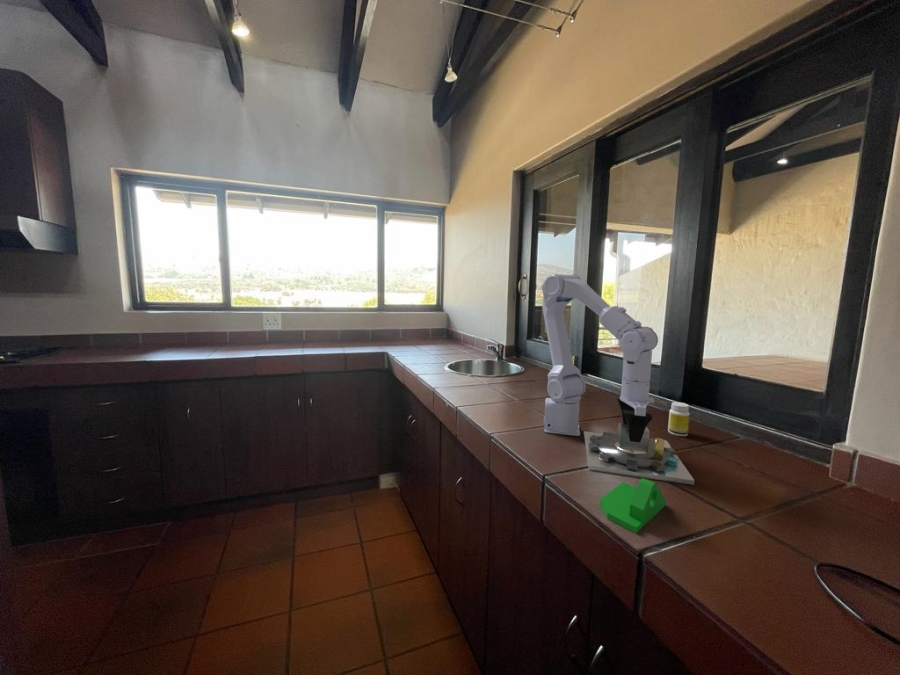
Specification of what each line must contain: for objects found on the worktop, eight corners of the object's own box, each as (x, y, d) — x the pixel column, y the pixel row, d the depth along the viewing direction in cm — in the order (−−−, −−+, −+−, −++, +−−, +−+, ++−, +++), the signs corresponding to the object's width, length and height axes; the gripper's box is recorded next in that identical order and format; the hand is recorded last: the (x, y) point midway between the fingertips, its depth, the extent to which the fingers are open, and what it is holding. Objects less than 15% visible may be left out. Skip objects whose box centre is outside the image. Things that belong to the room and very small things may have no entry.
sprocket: (643, 479, 70) (645, 454, 69) (572, 444, 86) (573, 423, 86) (695, 458, 79) (697, 435, 78) (621, 429, 95) (622, 411, 94)
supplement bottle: (691, 437, 93) (694, 407, 92) (671, 436, 94) (674, 406, 93) (683, 430, 98) (685, 402, 97) (664, 429, 99) (667, 401, 98)
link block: (619, 448, 82) (620, 427, 81) (617, 442, 85) (618, 422, 84) (648, 452, 80) (649, 431, 79) (644, 445, 83) (646, 425, 82)
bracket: (622, 488, 70) (624, 456, 69) (665, 507, 64) (668, 472, 63) (591, 512, 62) (593, 476, 61) (636, 535, 56) (639, 496, 55)
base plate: (588, 469, 76) (589, 465, 76) (583, 434, 95) (583, 430, 95) (694, 485, 70) (694, 480, 70) (666, 444, 89) (666, 440, 89)
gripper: (663, 388, 72) (658, 450, 74) (647, 373, 86) (643, 425, 88) (626, 386, 74) (622, 445, 76) (616, 371, 88) (613, 422, 90)
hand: (631, 434), depth 82 cm, fingers open, 7 cm apart
